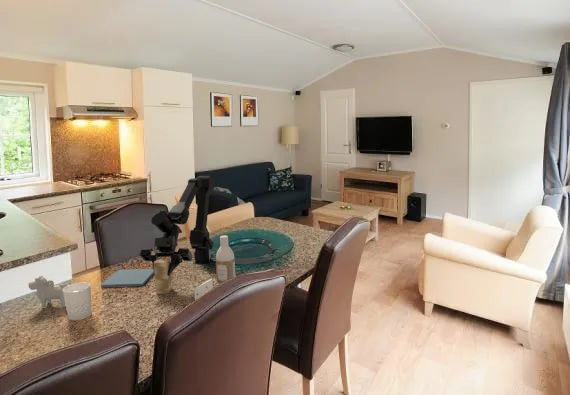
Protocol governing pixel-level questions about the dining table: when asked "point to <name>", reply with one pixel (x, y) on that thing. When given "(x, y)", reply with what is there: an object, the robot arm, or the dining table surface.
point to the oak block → (162, 276)
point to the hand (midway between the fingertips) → (161, 275)
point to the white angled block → (203, 288)
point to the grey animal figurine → (47, 290)
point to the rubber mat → (128, 278)
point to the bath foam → (224, 261)
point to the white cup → (78, 300)
